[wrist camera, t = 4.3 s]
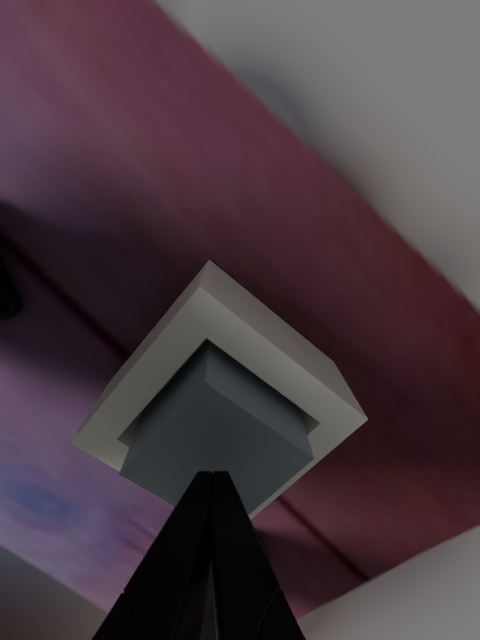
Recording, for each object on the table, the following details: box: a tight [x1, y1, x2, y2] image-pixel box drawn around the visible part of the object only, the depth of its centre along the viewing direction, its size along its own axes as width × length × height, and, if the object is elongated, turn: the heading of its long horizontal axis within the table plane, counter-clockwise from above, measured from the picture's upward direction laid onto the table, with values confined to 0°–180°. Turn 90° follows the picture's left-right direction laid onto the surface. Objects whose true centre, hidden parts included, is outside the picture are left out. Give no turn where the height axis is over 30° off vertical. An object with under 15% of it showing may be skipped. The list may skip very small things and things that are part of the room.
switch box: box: [70, 260, 368, 520], centre depth 13 cm, size 7×7×4 cm
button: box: [119, 339, 314, 515], centre depth 11 cm, size 4×4×3 cm
